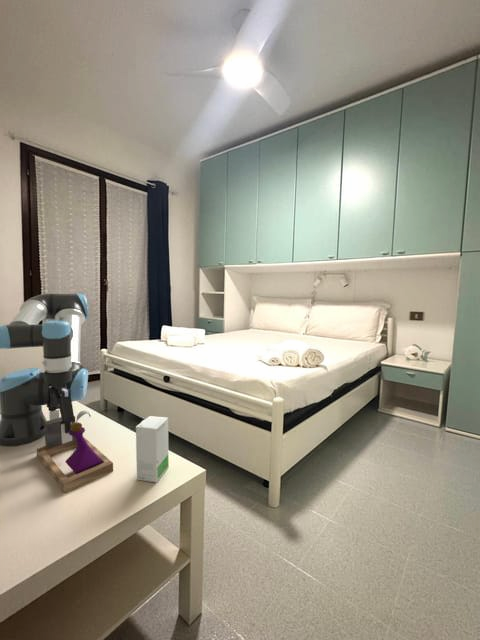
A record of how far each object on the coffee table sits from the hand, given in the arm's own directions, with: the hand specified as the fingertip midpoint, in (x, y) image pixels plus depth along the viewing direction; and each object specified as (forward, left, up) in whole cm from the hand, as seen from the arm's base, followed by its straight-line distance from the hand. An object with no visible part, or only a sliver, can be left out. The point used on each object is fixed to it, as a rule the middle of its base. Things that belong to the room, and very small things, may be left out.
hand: (60, 435), depth 97 cm
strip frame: (+11, 0, -5) cm, 12 cm away
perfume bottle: (+17, +1, -5) cm, 18 cm away
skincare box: (+32, +14, -5) cm, 35 cm away
